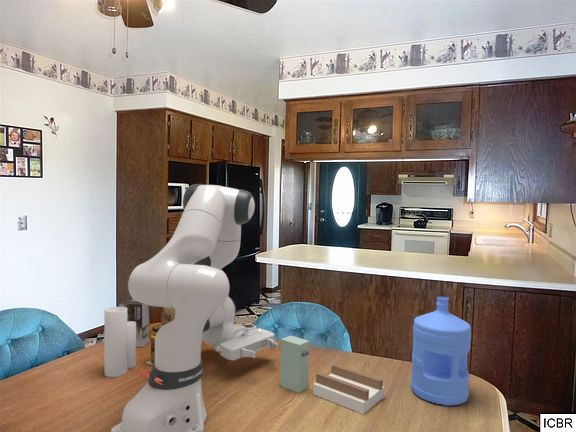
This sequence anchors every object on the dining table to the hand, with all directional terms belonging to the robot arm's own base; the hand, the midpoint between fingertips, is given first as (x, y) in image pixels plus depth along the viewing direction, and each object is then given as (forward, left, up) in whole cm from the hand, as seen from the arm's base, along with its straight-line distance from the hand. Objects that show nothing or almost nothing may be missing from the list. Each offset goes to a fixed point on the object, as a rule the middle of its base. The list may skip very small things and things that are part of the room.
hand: (266, 350), depth 126 cm
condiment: (-15, +34, -8) cm, 38 cm away
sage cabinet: (0, -11, -8) cm, 14 cm away
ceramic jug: (+2, +48, -8) cm, 49 cm away
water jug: (+25, -45, -8) cm, 52 cm away
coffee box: (-13, +55, -8) cm, 57 cm away
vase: (-28, +38, -8) cm, 48 cm away
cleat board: (+6, -26, -8) cm, 28 cm away
